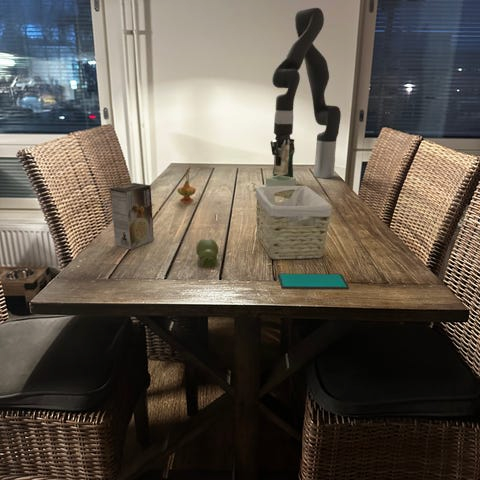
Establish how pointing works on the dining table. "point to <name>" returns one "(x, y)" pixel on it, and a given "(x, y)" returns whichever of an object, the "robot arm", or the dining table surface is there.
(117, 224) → the coffee box
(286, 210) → the storage basket
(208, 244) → the green rounded piece
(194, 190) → the magic lamp
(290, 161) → the coffee jar
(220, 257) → the dining table surface
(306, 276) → the smartphone
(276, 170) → the beige long rectangular block
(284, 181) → the stand
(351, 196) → the dining table surface
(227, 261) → the dining table surface
